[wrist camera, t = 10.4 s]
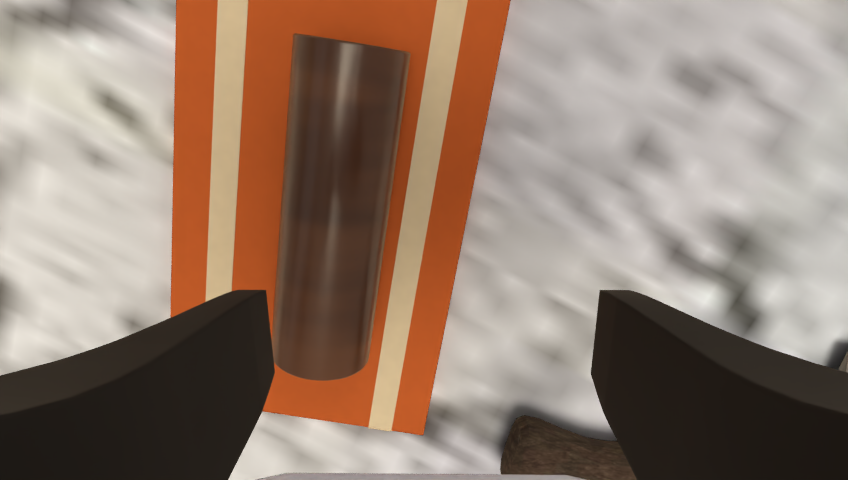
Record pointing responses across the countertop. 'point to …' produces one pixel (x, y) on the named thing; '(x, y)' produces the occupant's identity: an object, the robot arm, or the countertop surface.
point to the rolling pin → (335, 202)
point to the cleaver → (566, 451)
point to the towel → (264, 163)
